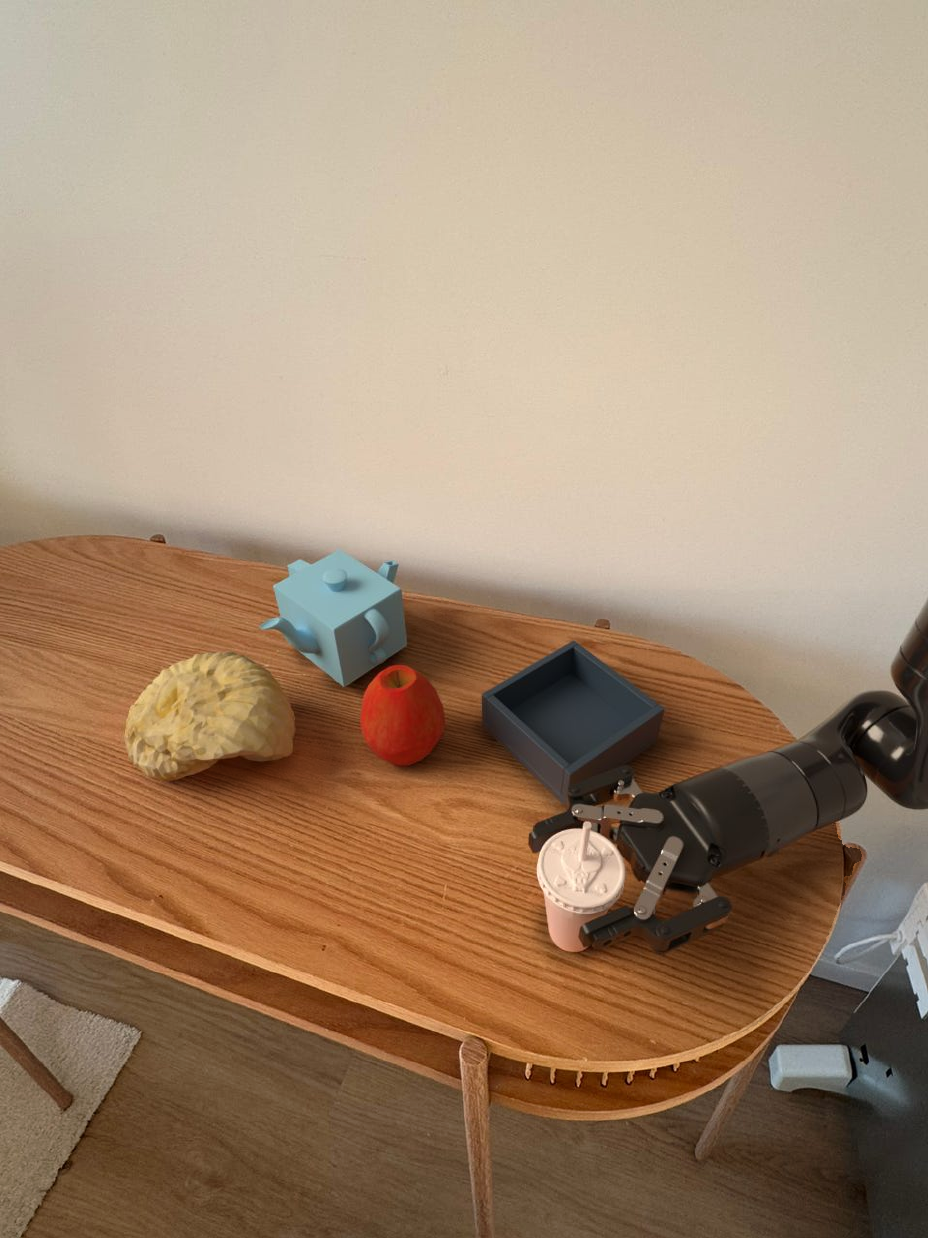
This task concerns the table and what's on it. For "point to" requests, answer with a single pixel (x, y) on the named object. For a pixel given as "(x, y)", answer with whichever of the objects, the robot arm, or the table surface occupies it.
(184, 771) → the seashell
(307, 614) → the teapot
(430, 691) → the apple
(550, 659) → the bin
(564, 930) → the smoothie
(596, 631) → the table surface
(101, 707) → the table surface
